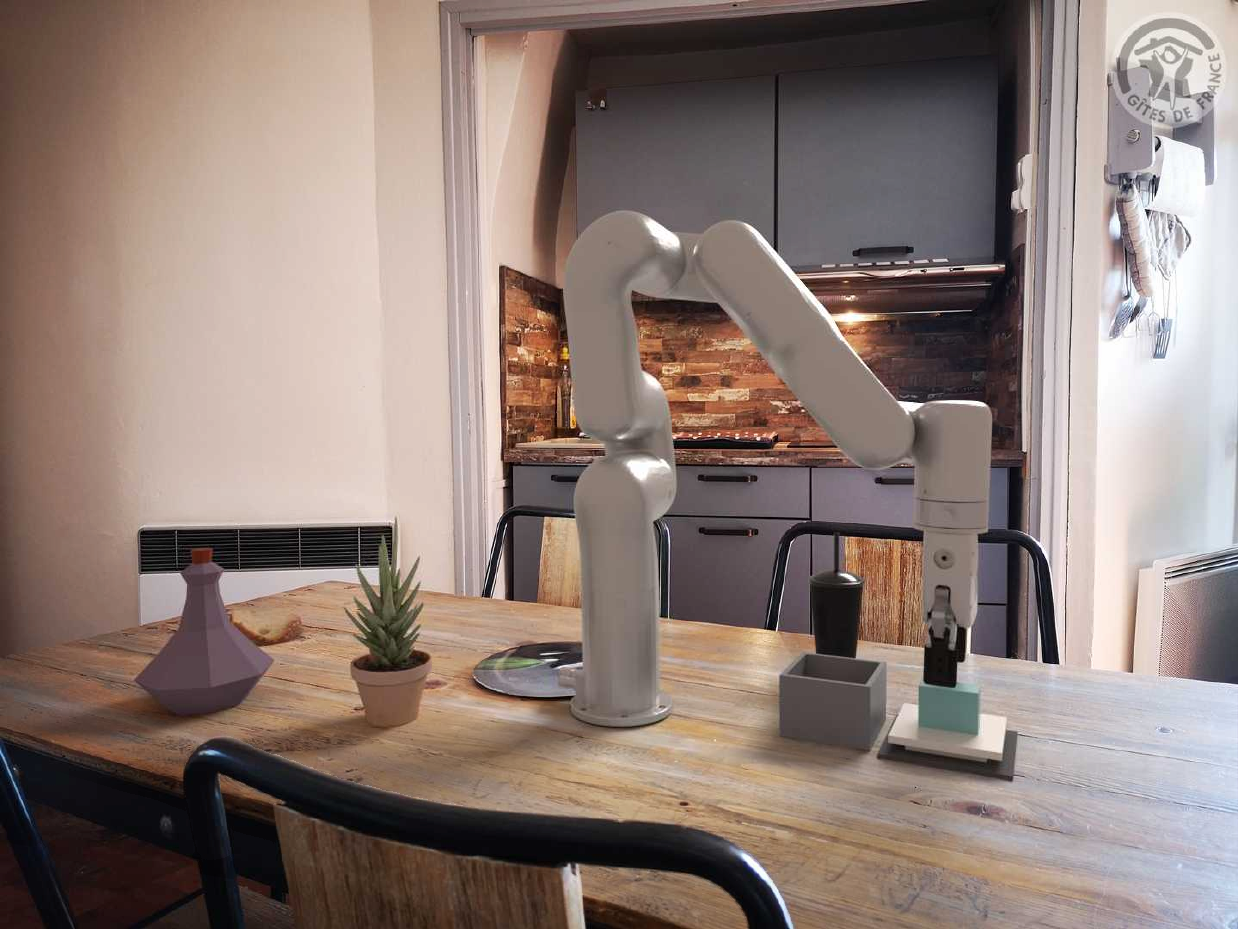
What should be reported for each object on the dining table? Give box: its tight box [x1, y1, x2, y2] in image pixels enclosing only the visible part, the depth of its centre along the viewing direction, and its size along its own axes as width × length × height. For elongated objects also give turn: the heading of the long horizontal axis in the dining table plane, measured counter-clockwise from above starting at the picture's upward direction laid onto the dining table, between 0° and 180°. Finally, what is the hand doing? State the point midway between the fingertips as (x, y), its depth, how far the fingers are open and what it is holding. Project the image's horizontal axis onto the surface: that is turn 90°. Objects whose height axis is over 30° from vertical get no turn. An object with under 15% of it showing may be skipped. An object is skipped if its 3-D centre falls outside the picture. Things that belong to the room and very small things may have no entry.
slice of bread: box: [229, 609, 304, 647], centre depth 146 cm, size 18×18×4 cm
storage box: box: [778, 651, 887, 752], centre depth 98 cm, size 10×10×7 cm
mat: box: [876, 713, 1018, 781], centre depth 92 cm, size 13×13×1 cm
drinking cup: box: [807, 532, 867, 659], centre depth 116 cm, size 8×8×20 cm
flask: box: [133, 547, 275, 716], centre depth 109 cm, size 16×16×20 cm
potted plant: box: [342, 516, 433, 728], centre depth 102 cm, size 10×10×25 cm
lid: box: [888, 677, 1008, 762], centre depth 92 cm, size 11×11×6 cm
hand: (944, 672), depth 92 cm, fingers open, 9 cm apart
